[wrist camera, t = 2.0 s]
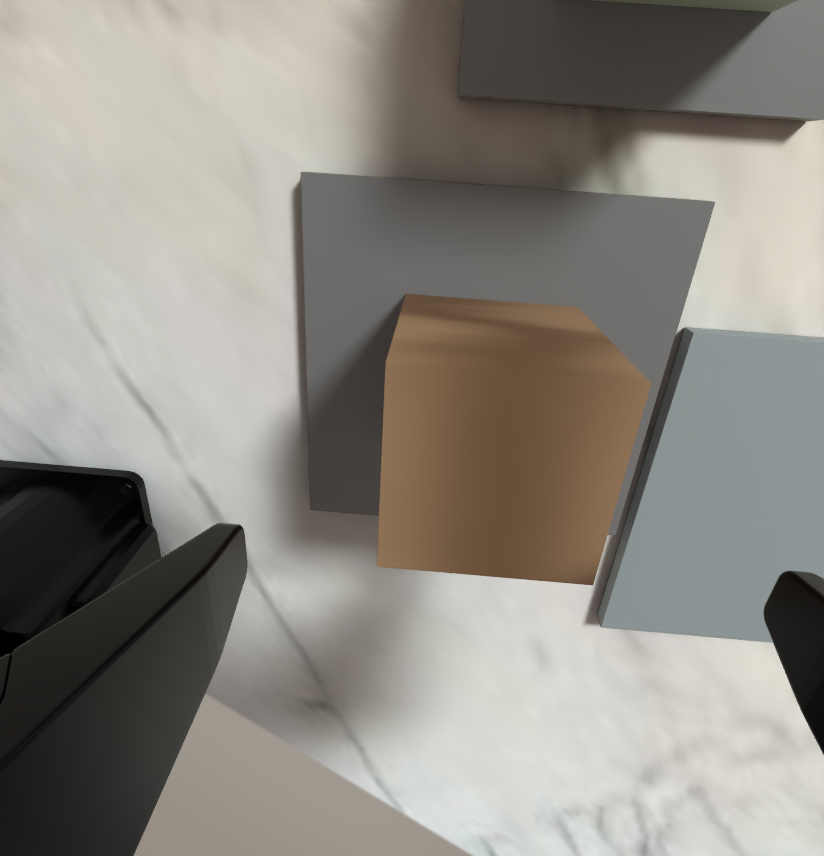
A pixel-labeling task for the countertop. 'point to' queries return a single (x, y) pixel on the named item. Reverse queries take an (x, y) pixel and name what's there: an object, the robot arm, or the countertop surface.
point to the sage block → (718, 4)
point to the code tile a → (471, 291)
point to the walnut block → (503, 439)
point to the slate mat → (725, 488)
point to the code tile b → (647, 57)
